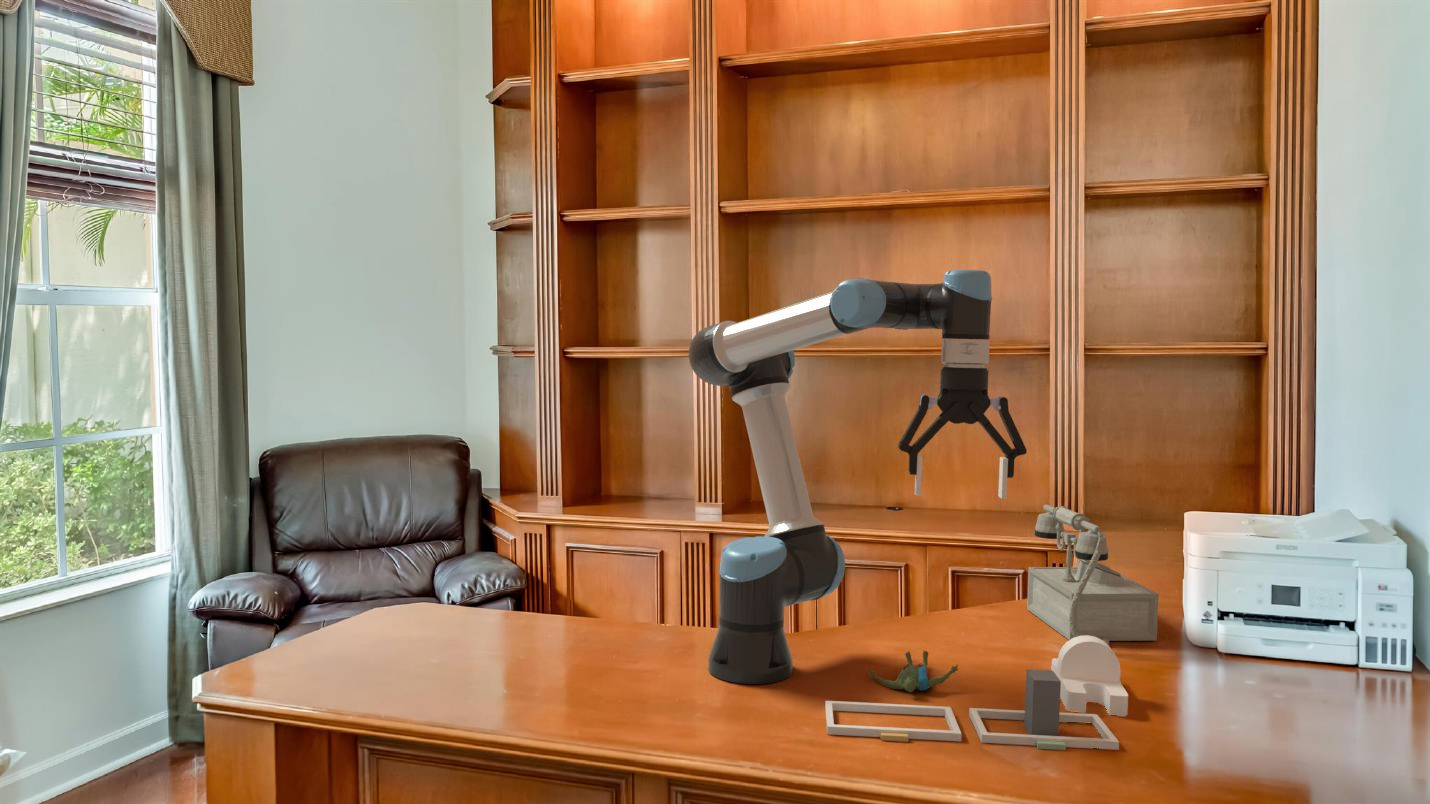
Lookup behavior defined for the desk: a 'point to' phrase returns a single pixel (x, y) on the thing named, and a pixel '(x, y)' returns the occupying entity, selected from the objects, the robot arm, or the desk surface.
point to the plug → (1042, 702)
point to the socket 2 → (1042, 740)
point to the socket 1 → (890, 732)
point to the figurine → (914, 676)
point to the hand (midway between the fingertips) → (959, 496)
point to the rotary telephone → (1088, 587)
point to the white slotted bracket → (1090, 675)
